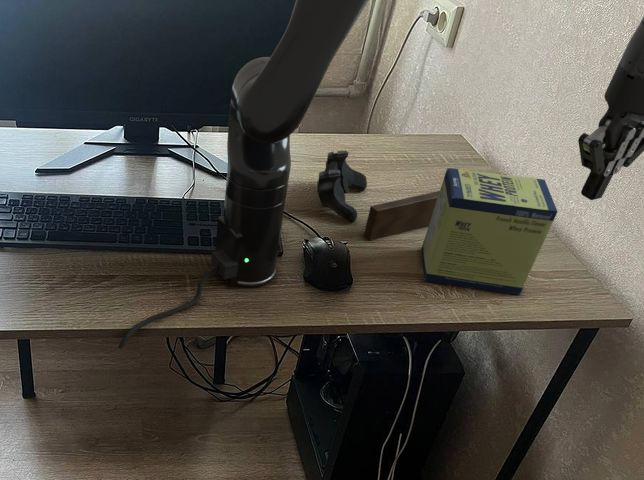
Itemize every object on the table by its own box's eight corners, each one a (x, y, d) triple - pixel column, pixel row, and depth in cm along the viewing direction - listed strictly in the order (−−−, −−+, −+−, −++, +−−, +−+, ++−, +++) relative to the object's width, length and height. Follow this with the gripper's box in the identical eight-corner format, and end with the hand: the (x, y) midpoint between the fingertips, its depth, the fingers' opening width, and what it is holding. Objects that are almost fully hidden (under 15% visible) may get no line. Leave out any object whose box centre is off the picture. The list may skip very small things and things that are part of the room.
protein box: (522, 296, 112) (560, 210, 102) (423, 282, 114) (450, 197, 104) (512, 261, 120) (546, 178, 110) (419, 248, 122) (445, 166, 112)
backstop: (369, 240, 123) (376, 210, 119) (363, 235, 124) (370, 206, 120) (456, 219, 130) (466, 190, 126) (450, 215, 131) (459, 186, 127)
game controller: (336, 193, 141) (321, 148, 137) (370, 184, 138) (355, 138, 133) (322, 232, 130) (304, 184, 125) (357, 224, 126) (341, 174, 121)
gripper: (664, 50, 87) (601, 175, 99) (589, 61, 83) (533, 192, 94) (720, 71, 82) (647, 201, 94) (644, 85, 78) (577, 219, 89)
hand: (590, 196), depth 94 cm, fingers closed
